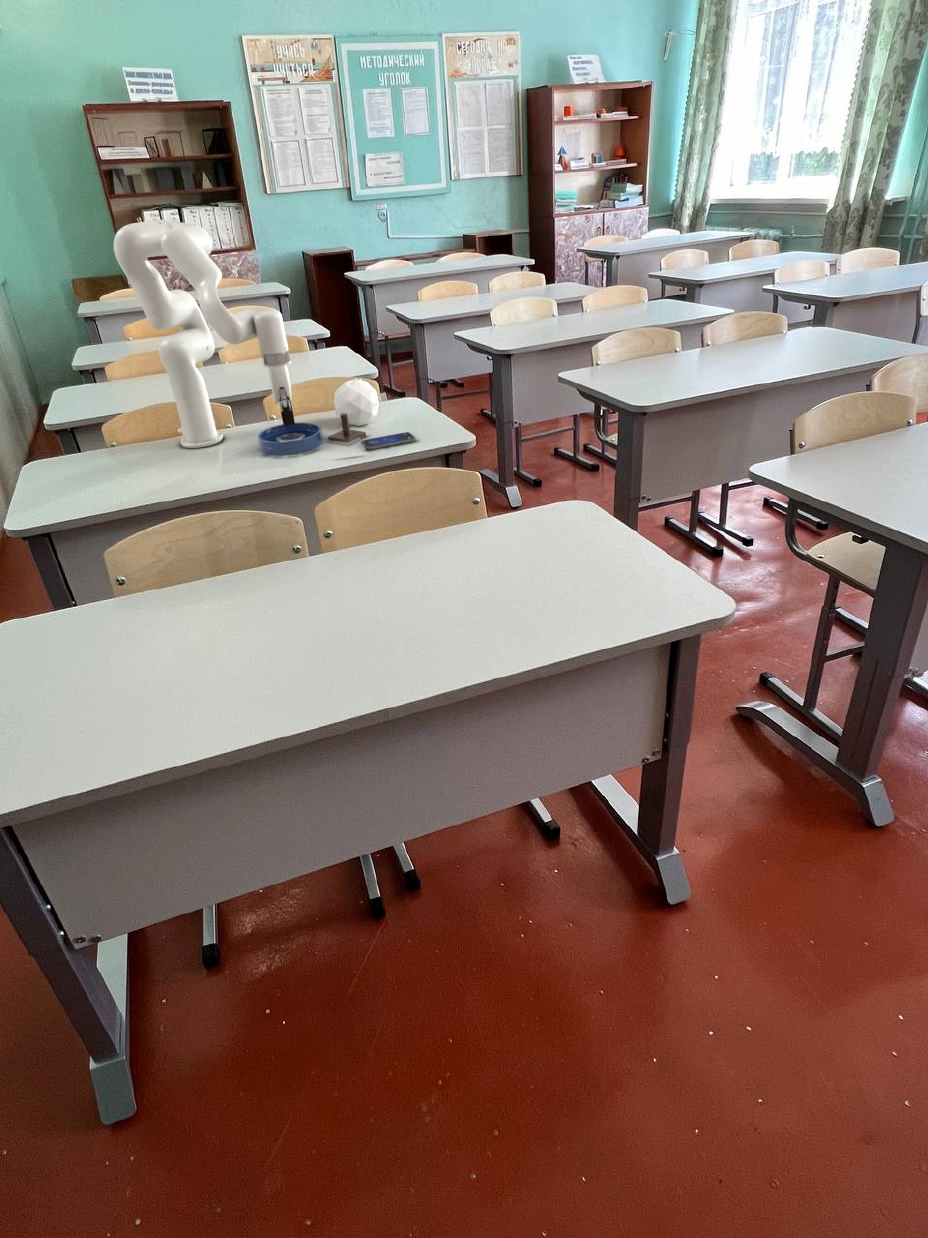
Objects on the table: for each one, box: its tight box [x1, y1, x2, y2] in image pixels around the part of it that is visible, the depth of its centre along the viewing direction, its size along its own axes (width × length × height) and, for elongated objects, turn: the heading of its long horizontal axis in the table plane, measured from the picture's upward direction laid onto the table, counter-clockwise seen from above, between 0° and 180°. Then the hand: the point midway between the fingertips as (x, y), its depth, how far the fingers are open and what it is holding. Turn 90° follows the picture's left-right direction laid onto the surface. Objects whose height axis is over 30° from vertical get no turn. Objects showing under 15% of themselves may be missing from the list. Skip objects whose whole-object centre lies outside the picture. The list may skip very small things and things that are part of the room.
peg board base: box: [327, 413, 367, 443], centre depth 223 cm, size 8×8×8 cm
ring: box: [276, 432, 305, 442], centre depth 223 cm, size 8×8×2 cm
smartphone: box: [360, 431, 417, 451], centre depth 219 cm, size 7×1×15 cm
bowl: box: [257, 422, 324, 456], centre depth 221 cm, size 18×18×4 cm
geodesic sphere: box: [332, 377, 380, 428], centre depth 234 cm, size 15×14×14 cm
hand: (288, 420), depth 216 cm, fingers open, 9 cm apart
